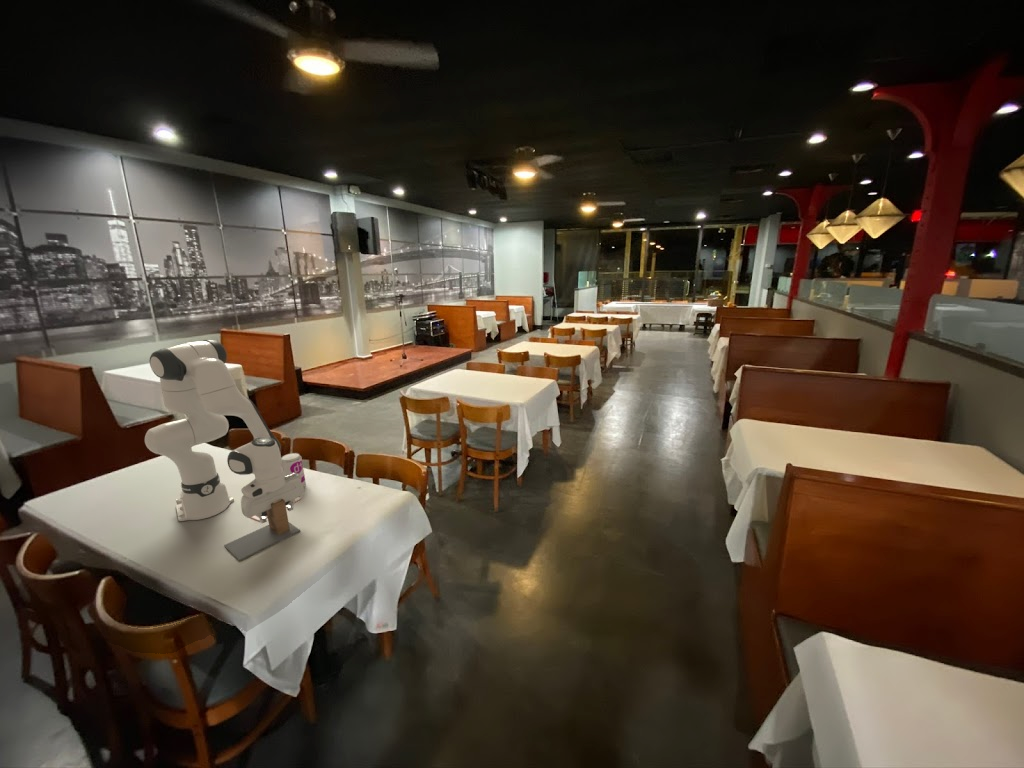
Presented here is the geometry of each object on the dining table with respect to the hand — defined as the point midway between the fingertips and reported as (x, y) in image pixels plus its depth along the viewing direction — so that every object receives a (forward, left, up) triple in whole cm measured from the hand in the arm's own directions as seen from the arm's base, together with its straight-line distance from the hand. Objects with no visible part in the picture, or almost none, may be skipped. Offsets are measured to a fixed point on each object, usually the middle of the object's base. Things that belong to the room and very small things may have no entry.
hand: (277, 516), depth 150 cm
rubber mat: (+1, -6, -6) cm, 8 cm away
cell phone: (-18, +6, -6) cm, 20 cm away
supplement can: (-27, +19, -6) cm, 34 cm away
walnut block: (0, 0, -5) cm, 5 cm away
